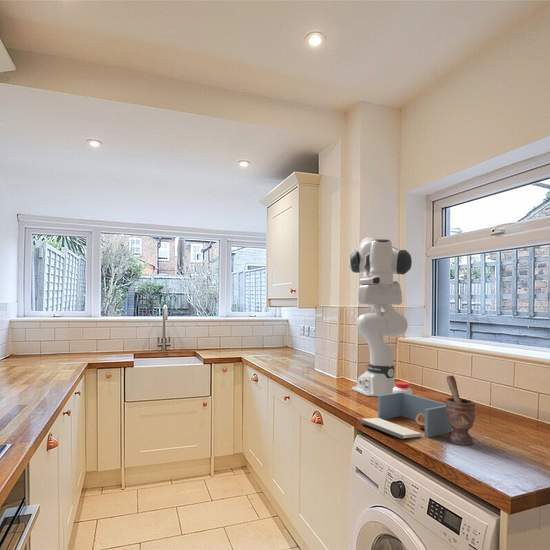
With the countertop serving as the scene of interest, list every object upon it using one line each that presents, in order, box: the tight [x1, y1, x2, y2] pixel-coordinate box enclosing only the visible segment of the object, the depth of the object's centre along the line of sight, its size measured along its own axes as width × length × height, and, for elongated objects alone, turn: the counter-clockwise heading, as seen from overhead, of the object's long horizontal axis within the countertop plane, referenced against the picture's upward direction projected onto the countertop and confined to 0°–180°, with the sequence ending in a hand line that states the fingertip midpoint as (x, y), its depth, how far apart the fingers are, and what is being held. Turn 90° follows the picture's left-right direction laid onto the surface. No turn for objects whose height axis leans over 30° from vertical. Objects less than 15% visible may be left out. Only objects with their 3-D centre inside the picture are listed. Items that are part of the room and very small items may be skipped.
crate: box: [377, 392, 453, 439], centre depth 144 cm, size 22×13×9 cm, turn 31°
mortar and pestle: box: [445, 375, 476, 447], centre depth 130 cm, size 12×9×20 cm
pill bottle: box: [393, 381, 413, 395], centre depth 164 cm, size 8×8×11 cm
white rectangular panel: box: [359, 417, 422, 439], centre depth 137 cm, size 19×1×10 cm
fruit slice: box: [414, 412, 425, 430], centre depth 139 cm, size 8×7×5 cm
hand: (380, 316), depth 151 cm, fingers closed
